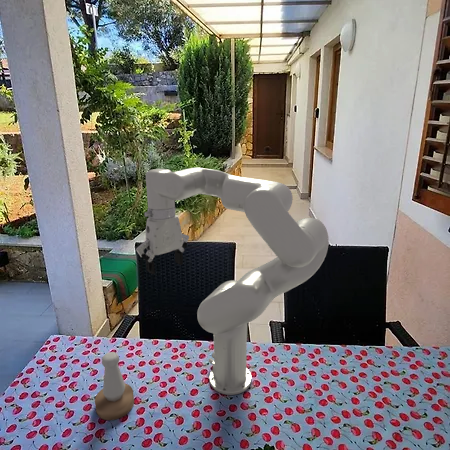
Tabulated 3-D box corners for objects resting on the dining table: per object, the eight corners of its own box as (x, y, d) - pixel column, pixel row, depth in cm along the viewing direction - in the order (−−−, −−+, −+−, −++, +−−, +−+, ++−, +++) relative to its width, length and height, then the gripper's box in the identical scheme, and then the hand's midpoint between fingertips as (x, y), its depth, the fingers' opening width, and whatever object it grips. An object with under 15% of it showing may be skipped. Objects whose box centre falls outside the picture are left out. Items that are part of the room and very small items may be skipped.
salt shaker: (119, 406, 90) (114, 364, 86) (99, 402, 91) (93, 361, 87) (129, 389, 95) (125, 350, 91) (110, 386, 96) (105, 347, 92)
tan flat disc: (90, 403, 94) (89, 395, 93) (124, 385, 100) (123, 377, 100) (105, 427, 87) (103, 417, 86) (140, 406, 93) (139, 397, 92)
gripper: (140, 221, 89) (145, 281, 94) (194, 210, 100) (196, 263, 105) (127, 215, 95) (133, 272, 100) (179, 205, 105) (182, 257, 110)
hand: (165, 268), depth 102 cm, fingers open, 9 cm apart
